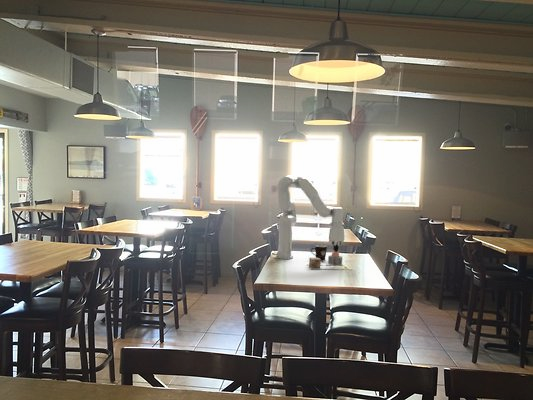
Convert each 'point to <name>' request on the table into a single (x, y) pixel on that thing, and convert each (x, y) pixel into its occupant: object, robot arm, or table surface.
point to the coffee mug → (320, 251)
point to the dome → (335, 254)
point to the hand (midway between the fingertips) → (335, 251)
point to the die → (314, 262)
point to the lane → (334, 269)
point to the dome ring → (335, 260)
